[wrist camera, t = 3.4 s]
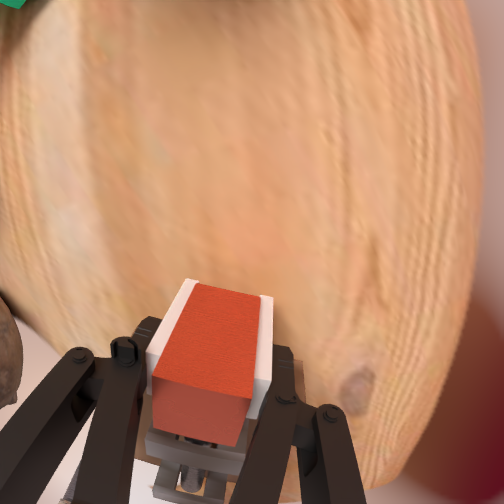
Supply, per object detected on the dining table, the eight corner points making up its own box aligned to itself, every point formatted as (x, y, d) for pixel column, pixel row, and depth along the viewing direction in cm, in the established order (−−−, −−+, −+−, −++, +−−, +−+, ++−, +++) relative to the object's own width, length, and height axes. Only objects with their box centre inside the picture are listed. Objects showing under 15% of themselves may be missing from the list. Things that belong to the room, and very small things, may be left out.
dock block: (144, 427, 26) (120, 490, 18) (138, 324, 20) (88, 405, 13) (259, 453, 26) (254, 521, 18) (302, 361, 20) (309, 456, 13)
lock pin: (179, 448, 22) (162, 511, 16) (195, 282, 16) (151, 375, 9) (217, 457, 22) (205, 521, 16) (260, 297, 16) (252, 398, 9)
